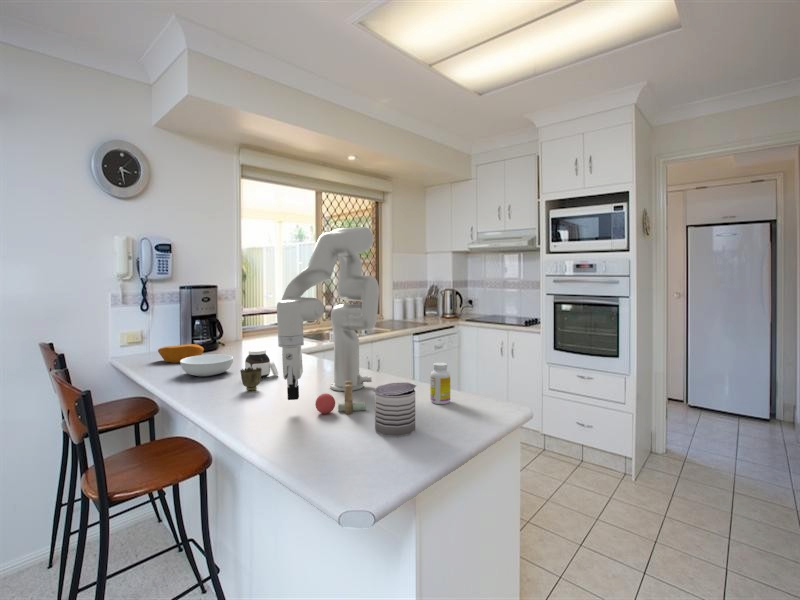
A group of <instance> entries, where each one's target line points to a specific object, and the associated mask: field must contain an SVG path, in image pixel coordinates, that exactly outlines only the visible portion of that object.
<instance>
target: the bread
mask: <svg viewBox="0 0 800 600" xmlns="http://www.w3.org/2000/svg"><path fill="white" fill-rule="evenodd" d="M204 350H205V348H204V347H203V346H201V345H199V344H196V343H192V344H190V343H188V344H178V345H170V346H163V347H160V348H158V349H157V352H158V354H159V355H160V357H161V358H162V359H163V360H164V362H166V363H172V364H173V363H174V364H180V360H182V359H184V358H187V357H192V356H199V355H203V353H204Z"/></svg>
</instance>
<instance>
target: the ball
mask: <svg viewBox="0 0 800 600" xmlns="http://www.w3.org/2000/svg"><path fill="white" fill-rule="evenodd" d="M335 407H336V399H335V398H334V396H333V395H331V394H330V393H322V394H320V395H319V396H317V398H316V400H315V408H316V411H318V412H319V413H320V414H322V415H323V414H324V415H325V414H329V413H330V414H331V412H332V411H334V409H335Z"/></svg>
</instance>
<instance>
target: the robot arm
mask: <svg viewBox="0 0 800 600" xmlns="http://www.w3.org/2000/svg"><path fill="white" fill-rule="evenodd" d="M374 241H375V239H374V234H373V232H372V230H371V229H370V228H368V227H366V226H362V227H361V226H360V227H359V226H358V227H343V228H342V227H341V228H340V227H339V228H336V229H333V230H332V231H330V232H328V231H327V232H325V233H322V234H320V236H319V237H318V239H317V242H316V243H315V246H314V249H313V251H312V254H311V256H310V259H309V262H308V264H307V267H306V268H305V269H303V270H302V271H301V272H299V273H298V274H297V275H296V276H295V277H294V278H293V279H292V280H291V281H290V282H289V284H288V285H286V288H285V290H284V293H283V295H282V298H281V300H280V301H278V302H277V304H276V318H277V319H276V320H277V321H276V323H277V324H276V325H277V341H278V343H277V344H278V345H277V346H278V347H279V348H281V349H282V350H281V353H282V354H281V356H282V376H283V377H282V378H283V379H284V380H286V382H287V384H286V385H287V387H286V390H287V400H288V401H293V400H294V401H295V400H299V397H300V391H299V390H300V389H299V380H300V379H301V378H302V375H303V373H304V367H303V356H302V355H303V354H302V353H303V352H302V346H304V345H305V344H304V343H305V342H304V322H315V321H318V320H319V319H321V318H322V317H323V315H324V312H325V306H324V303H323V301H322V300H320V299H319V298H315V297H305V296H303V295H304V294H305V293H306V292H307V291H308V290H311V288H313V287H316V286H317V285H320V284H322V283H324V282H326V281H328V280H329V279H330V278H332V275H333V272H334V269H335V266H336V263H337V260H338V262H339V268H338V269H339V270H338V271H339V273H338V281H337V282H338V283H337V295H338V297H339V299H340V300H343V301H348V302H349V301H351V302H352V301H353V302H354V301H355V302H361V304H356V303H353V304H352V303H342V304H338V305H335V306H334V307H333V308H332V309H331V312H330V313H331V314H330V320H331V326H332V330H333V363H334V364H333V367H334V368H333V369H334V370H333V371H334V372H333V374H334V375H333V377H334V379H333V382H331V383H330V385H329V388H330V389H331V390H333V391H338V392H345V381H352V392H354V391H358V390H361V389H362V388H364V386H365V385H364V383H372V380H373V378H372V376H368V375H367V376H362V375H361V373H360V339H359V336H358V334H357V332H356V331H371V330H372V329H374V328H375V326H376V323H377V322H378V321H377V320H378V312H379V311H378V310H379V298H380V286H379V283H378V280H377V278H375V277H374V276H372V275H362V274H363V272H362V270H363V262H362V260H361V258H360V256H359V254H361V253H364V252H367V251H369V250H370V249H371V248H372V246H373V244H374Z"/></svg>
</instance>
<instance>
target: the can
mask: <svg viewBox="0 0 800 600" xmlns="http://www.w3.org/2000/svg"><path fill="white" fill-rule="evenodd" d="M416 387H417V384H413V383H410V382H391V383H386V384H382V385H378V386H377V387H376V388H375V389H374V390H373V392H374V430H375V433H376V434H377V435H380V436H383V437H387V438H401V437H407V436H411V435H412V434H413V433H415V432H416V390H415V389H416Z"/></svg>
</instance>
